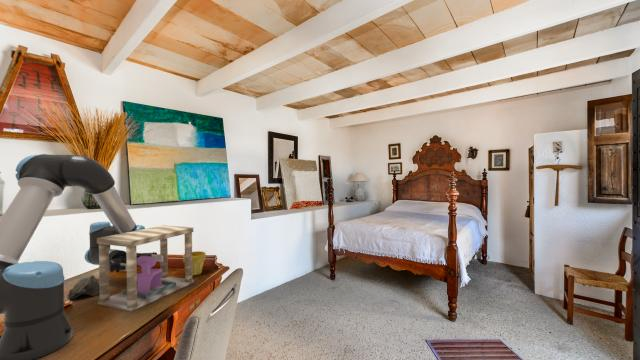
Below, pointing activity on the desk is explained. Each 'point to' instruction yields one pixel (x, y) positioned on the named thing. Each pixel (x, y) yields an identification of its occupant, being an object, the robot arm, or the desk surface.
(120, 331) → the desk surface
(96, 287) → the fossil
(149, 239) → the canopy shelf
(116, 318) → the desk surface
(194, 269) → the plant pot
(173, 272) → the desk surface
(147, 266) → the toy chair
